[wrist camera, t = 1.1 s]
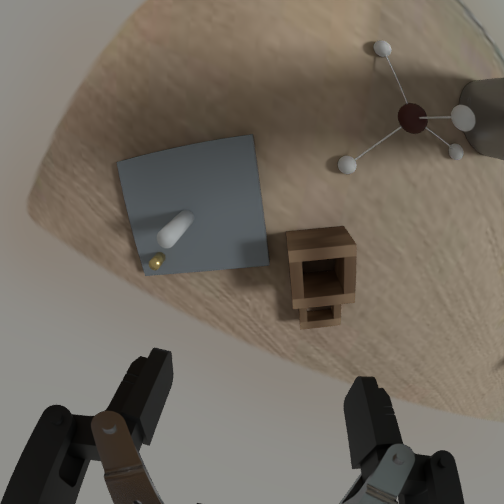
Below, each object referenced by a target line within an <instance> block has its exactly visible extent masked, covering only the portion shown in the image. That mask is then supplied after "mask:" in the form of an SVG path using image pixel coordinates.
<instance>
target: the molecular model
mask: <svg viewBox="0 0 504 504" xmlns="http://www.w3.org/2000/svg"><path fill="white" fill-rule="evenodd" d="M374 51H375V53H376V54H377V55H379V56H381V57H386V59H387V61H388V63H389V65H390V67H391V69H392V71H393V73H394V75H395V78H396V80H397V82H398V85H399V87H400V89H401V92H402V94H403V96H404V99H405V101H406V104H405V105H403V106H402V107H401V108H400V110H399V112H398V120H399V123H400V125H401V126H400V127H399V128H397V129H396V130H394V131H393V132H392V133H390V134H389V135H387V136H386V137H385V138H383V139H382V140H380V141H379V142H377V143H376V144H375V145H373V146H372V147H370V148H369V149H368V150H366V151H365V152H363V153H362V154H361V155H359V156H358V157H356V158H355V159H354V158H352V157H351V156H347V155H346V156H343V157H341V158H340V159H339V161H338V168H339V170H340V171H341V172H342V173H344V174H351V173H353V172H354V171H355V169H356V161H355V160H357V159H358V158H359V157H361V156H362V155H364V154H365V153H366V152H368V151H369V150H371V149H372V148H374V147H375V146H376V145H378V144H379V143H381V142H382V141H383V140H385V139H386V138H388V137H389V136H391V135H392V134H393V133H395V132H396V131H398V130H399V129H401V128H403V129H404V130H406V131H407V132H409V133H413V134H416V133H420V132H422V131H423V130H424V129H425V128H426V129H427V130H428V131H430V132H431V133H433V134H434V135H435V136H437V137H438V138H439V139H440V140H442V141H443V142H444V143H446V144H447V145H448V146H449V155H450V156H451V158H453V159H455V160H459V159H461V158H462V157H463V149H462V147H461V146H460V145H459V144H456V143H454V144H451V145H449V144H448V143H447V142H445V141H444V140H443V139H442V138H440V137H439V136H438V135H436V134H435V133H434V132H432V131H431V130H430V129H428V128H427V127H426V126H427V123H428V119H435V118H451V119H452V122H453V124H454V126H455V127H456V128H457V129H459V130H461V131H470V130H471V129H472V128H473V127H474V125H475V115H474V113H473V112H472V110H471V109H470V108H469V107H467V106H465V105H457V106H455V107H454V108H453V110H452V112H451V116H433V117H427V115H426V113H425V111H424V110H423V108H422V107H420V106H419V105H417V104H413V103H408V102H407V100H406V97H405V95H404V92H403V90H402V87H401V85H400V83H399V81H398V78H397V76H396V74H395V72H394V70H393V67H392V65H391V63H390V61H389V59H388V57H387V56H388V55H390V53H391V47H390V45H389V44H388V43H387V42H385V41H382V40H379V41H377V42H375V44H374Z"/></svg>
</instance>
